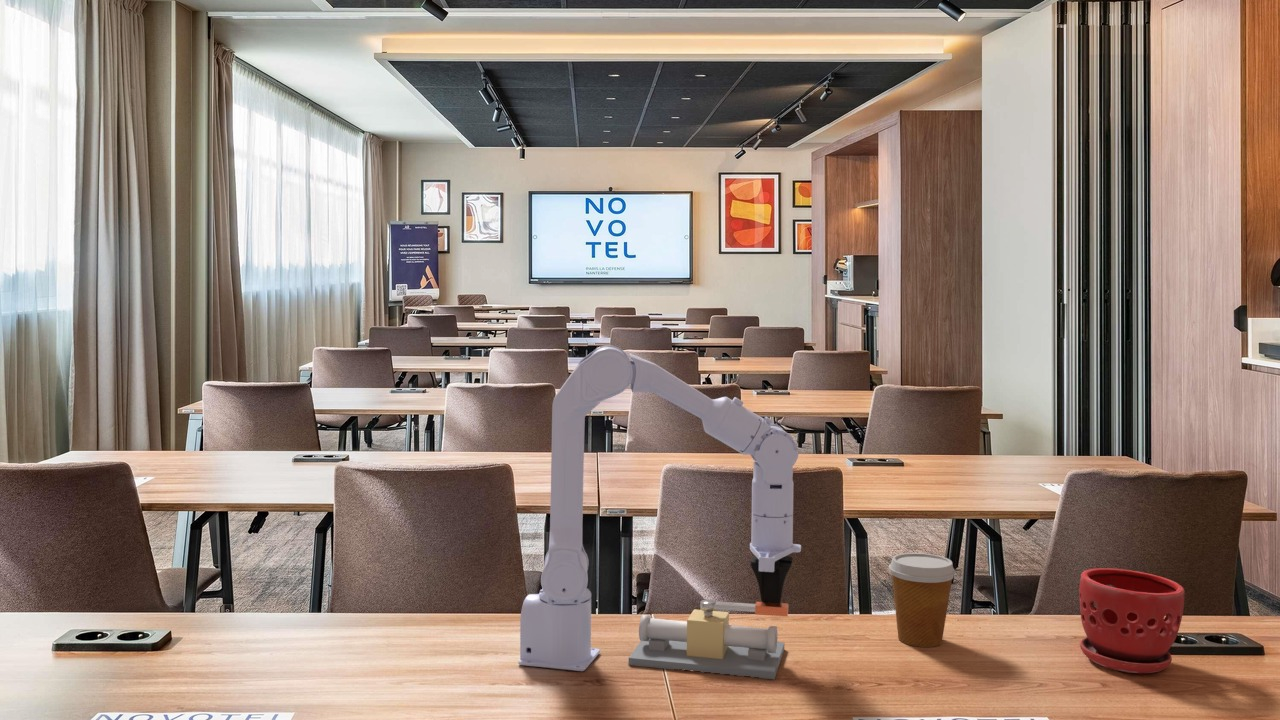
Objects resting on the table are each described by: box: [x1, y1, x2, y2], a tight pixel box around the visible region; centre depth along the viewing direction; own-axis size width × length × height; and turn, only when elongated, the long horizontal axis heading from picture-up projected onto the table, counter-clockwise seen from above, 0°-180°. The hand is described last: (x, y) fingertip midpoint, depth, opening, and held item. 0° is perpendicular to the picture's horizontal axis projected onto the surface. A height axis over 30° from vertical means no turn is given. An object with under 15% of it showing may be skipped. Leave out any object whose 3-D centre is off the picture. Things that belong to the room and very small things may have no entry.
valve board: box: [628, 609, 785, 681], centre depth 144 cm, size 20×12×7 cm, turn 76°
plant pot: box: [1078, 567, 1186, 674], centre depth 143 cm, size 13×13×12 cm
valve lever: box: [699, 599, 789, 617], centre depth 143 cm, size 12×2×1 cm, turn 79°
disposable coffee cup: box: [888, 552, 956, 648], centre depth 152 cm, size 10×10×12 cm
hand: (771, 609), depth 143 cm, fingers closed
